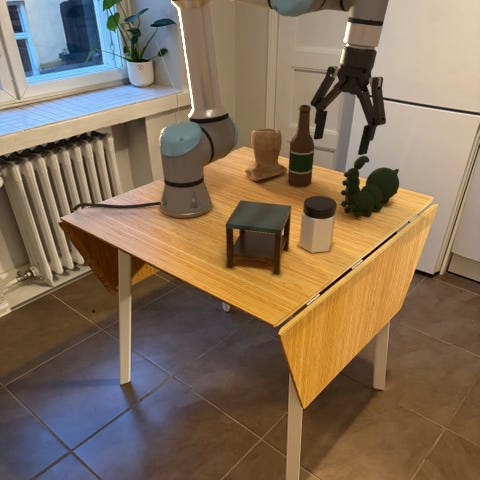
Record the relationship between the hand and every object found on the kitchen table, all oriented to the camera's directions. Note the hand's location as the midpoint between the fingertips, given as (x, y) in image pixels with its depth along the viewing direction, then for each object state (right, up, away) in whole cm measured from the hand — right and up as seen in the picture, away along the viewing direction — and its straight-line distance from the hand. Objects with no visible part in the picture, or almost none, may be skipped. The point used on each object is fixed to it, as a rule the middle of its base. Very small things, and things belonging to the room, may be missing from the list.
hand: (339, 146), depth 115 cm
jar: (-4, -23, +9) cm, 25 cm away
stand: (-20, -27, +4) cm, 33 cm away
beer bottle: (-5, +3, +41) cm, 42 cm away
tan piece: (-16, +7, +47) cm, 50 cm away
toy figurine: (+14, -10, +25) cm, 30 cm away
